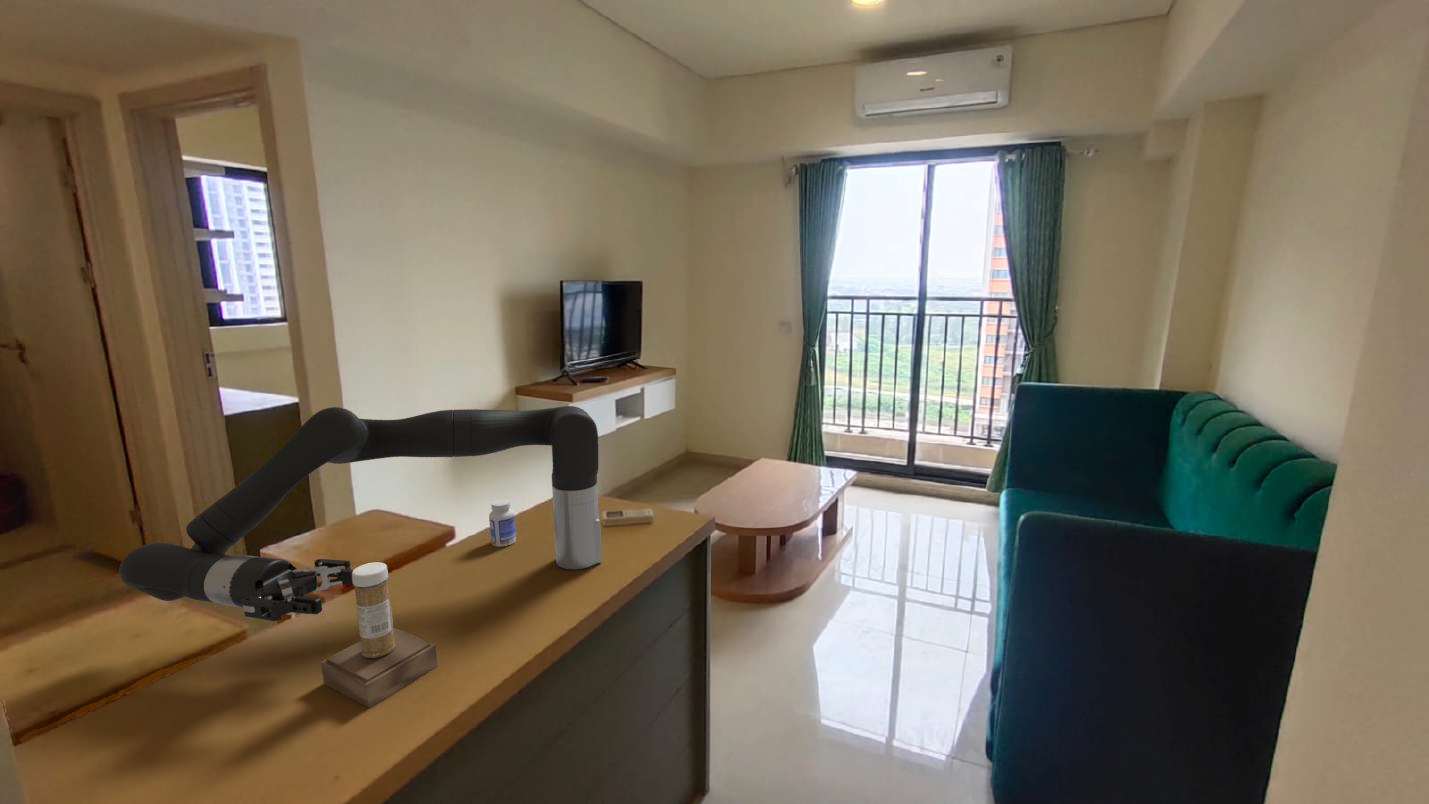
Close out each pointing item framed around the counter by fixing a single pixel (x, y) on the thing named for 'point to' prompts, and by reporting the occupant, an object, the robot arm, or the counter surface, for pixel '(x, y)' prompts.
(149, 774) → the counter surface
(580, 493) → the robot arm
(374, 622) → the sprinkles bottle
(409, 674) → the walnut plinth
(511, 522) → the pill bottle
